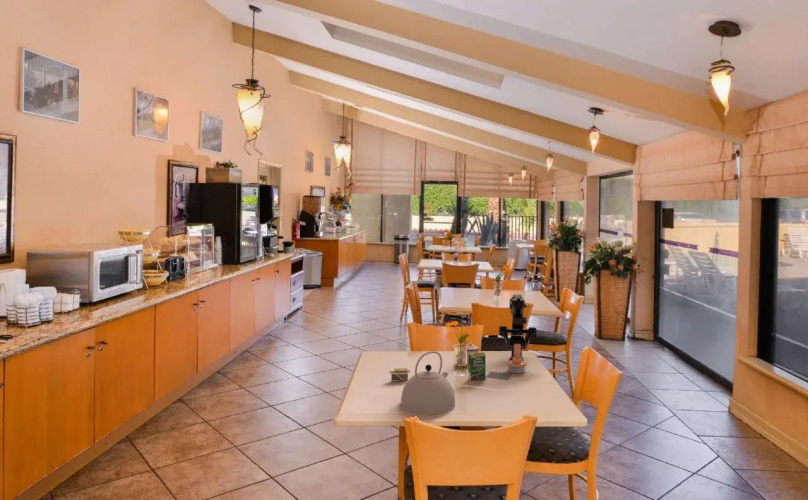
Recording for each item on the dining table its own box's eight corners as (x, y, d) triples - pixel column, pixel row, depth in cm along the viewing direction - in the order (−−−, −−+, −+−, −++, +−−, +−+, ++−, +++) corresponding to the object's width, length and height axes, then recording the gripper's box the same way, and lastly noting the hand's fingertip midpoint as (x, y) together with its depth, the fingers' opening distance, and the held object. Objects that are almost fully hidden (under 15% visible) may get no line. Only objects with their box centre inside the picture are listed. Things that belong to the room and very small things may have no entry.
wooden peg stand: (506, 361, 294) (507, 341, 293) (526, 362, 292) (527, 342, 291) (506, 366, 284) (507, 346, 283) (527, 367, 282) (528, 347, 282)
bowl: (510, 369, 293) (510, 362, 293) (525, 371, 290) (525, 363, 290) (507, 373, 286) (507, 365, 286) (522, 375, 283) (523, 367, 283)
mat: (490, 372, 288) (490, 371, 288) (512, 375, 284) (512, 373, 284) (485, 378, 278) (485, 377, 278) (507, 381, 273) (507, 380, 273)
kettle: (426, 391, 258) (427, 341, 257) (469, 402, 244) (469, 350, 242) (389, 405, 239) (390, 352, 238) (433, 419, 225) (433, 362, 223)
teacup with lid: (480, 363, 305) (481, 341, 304) (475, 367, 296) (476, 345, 296) (459, 360, 310) (459, 339, 309) (453, 364, 301) (454, 342, 301)
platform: (421, 384, 268) (421, 371, 268) (383, 387, 265) (383, 373, 264) (415, 377, 280) (415, 364, 280) (379, 379, 276) (379, 366, 276)
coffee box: (470, 382, 272) (470, 354, 271) (467, 380, 275) (468, 353, 274) (485, 380, 274) (486, 353, 273) (483, 378, 277) (483, 352, 276)
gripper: (499, 310, 295) (498, 336, 286) (536, 311, 292) (537, 338, 282) (499, 322, 304) (498, 348, 294) (535, 323, 300) (536, 350, 290)
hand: (517, 345), depth 290 cm, fingers open, 9 cm apart
